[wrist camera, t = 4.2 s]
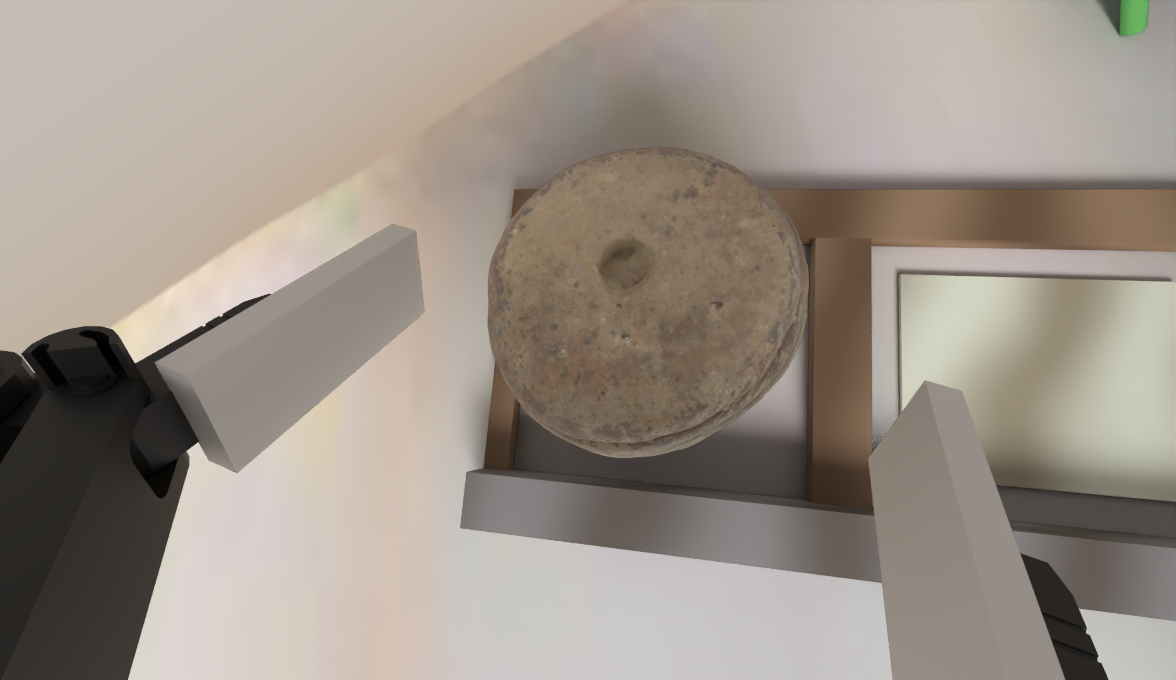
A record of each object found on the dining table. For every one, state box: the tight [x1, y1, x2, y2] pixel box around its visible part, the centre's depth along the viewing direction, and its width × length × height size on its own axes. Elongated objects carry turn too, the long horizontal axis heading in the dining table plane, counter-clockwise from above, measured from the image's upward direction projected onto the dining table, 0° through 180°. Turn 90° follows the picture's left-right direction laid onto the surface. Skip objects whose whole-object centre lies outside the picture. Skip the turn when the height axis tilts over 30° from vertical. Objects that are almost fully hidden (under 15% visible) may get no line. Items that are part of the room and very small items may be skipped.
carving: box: [488, 147, 810, 458], centre depth 15 cm, size 6×8×12 cm
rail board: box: [460, 189, 1176, 621], centre depth 18 cm, size 27×14×2 cm, turn 86°
